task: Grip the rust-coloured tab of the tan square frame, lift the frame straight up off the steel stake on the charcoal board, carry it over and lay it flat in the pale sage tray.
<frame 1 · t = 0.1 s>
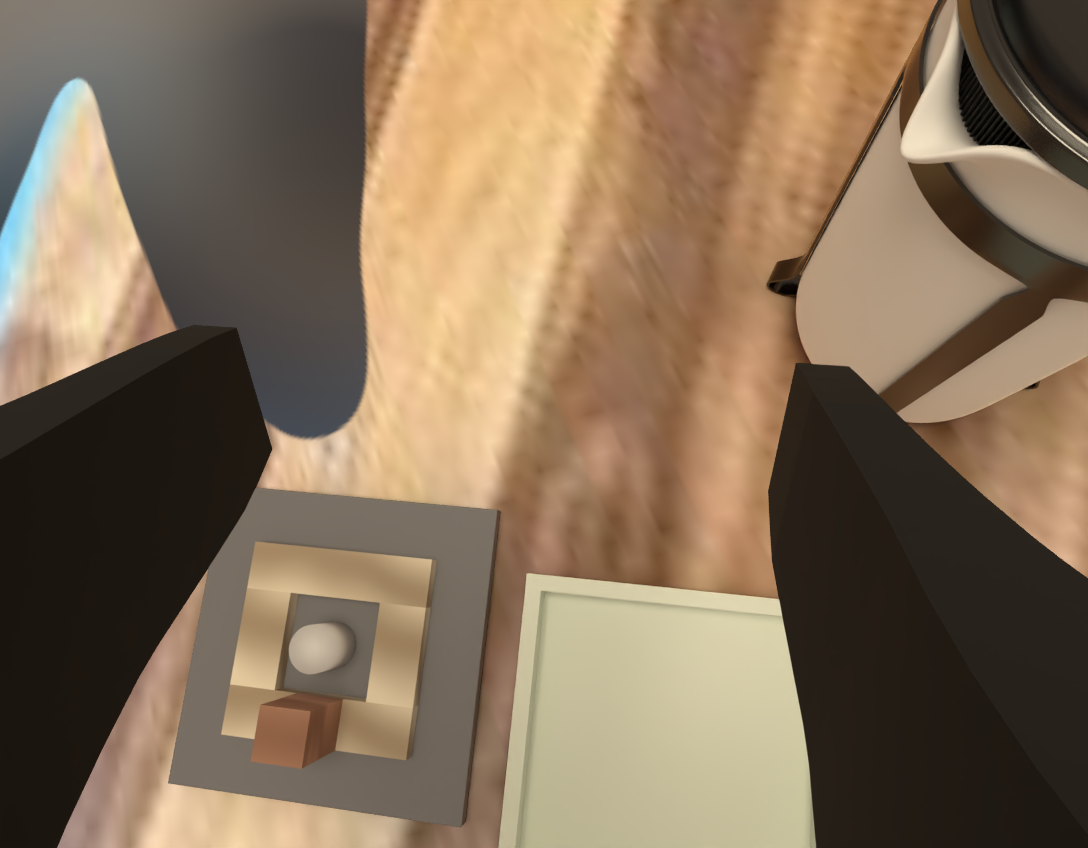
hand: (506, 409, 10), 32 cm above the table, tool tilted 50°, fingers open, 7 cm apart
coffee press: (914, 315, 42), on the table
tan square frame: (334, 644, 40), point 1 cm above the table, touching stake board
stake board: (341, 643, 41), on the table
sage tray: (667, 744, 38), on the table
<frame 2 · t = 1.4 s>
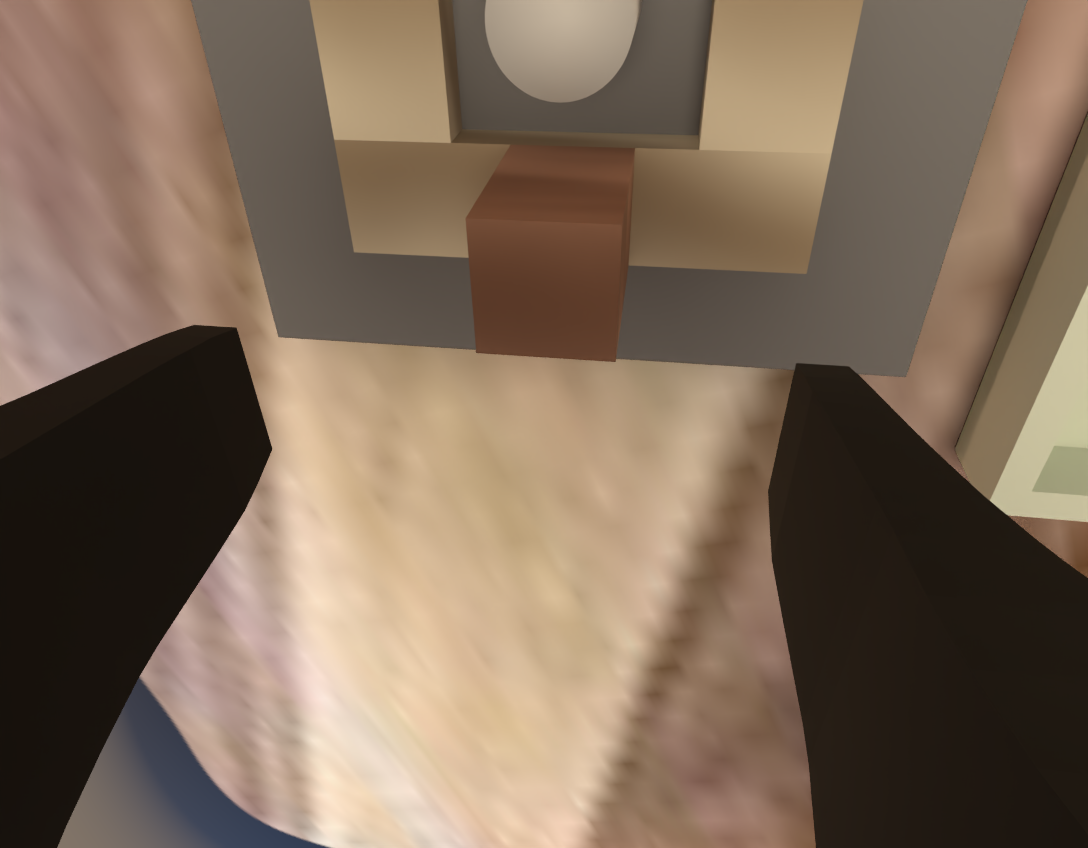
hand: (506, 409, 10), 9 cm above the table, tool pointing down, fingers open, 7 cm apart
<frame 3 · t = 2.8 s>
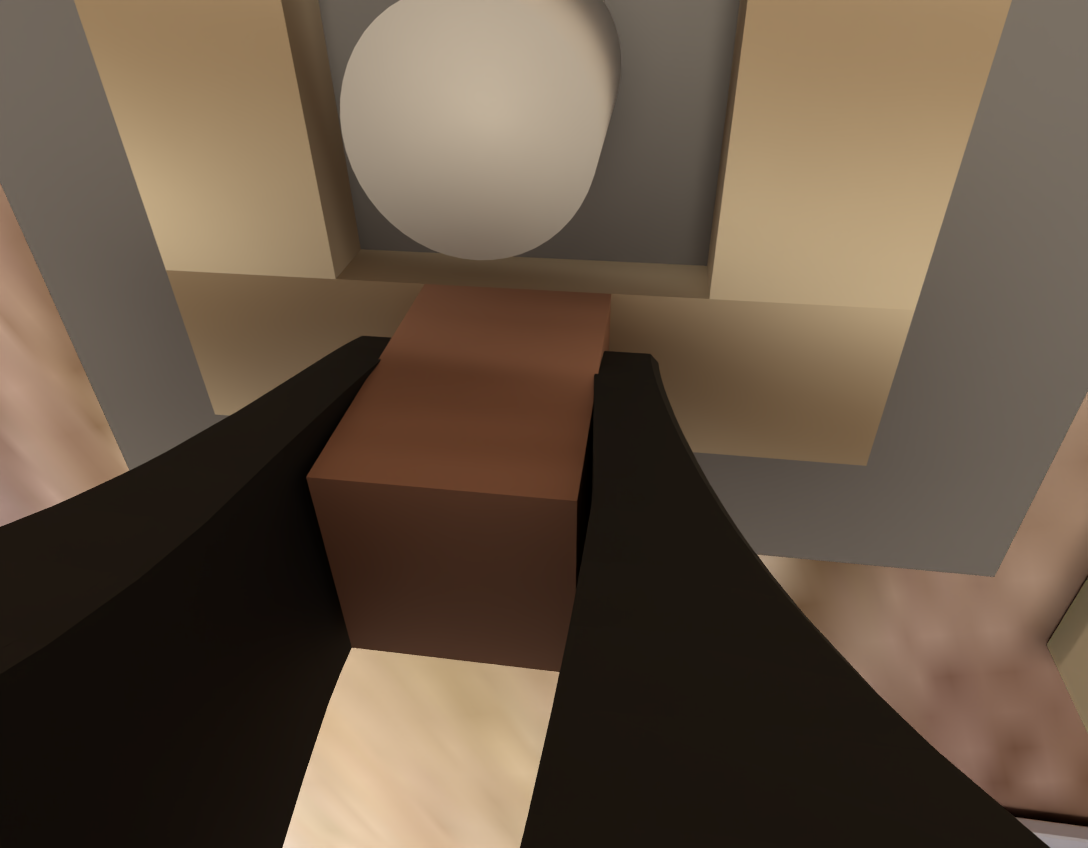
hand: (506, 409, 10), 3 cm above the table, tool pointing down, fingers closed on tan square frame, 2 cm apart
tan square frame: (523, 66, 9), point 1 cm above the table, touching gripper, stake board
stake board: (535, 50, 10), on the table
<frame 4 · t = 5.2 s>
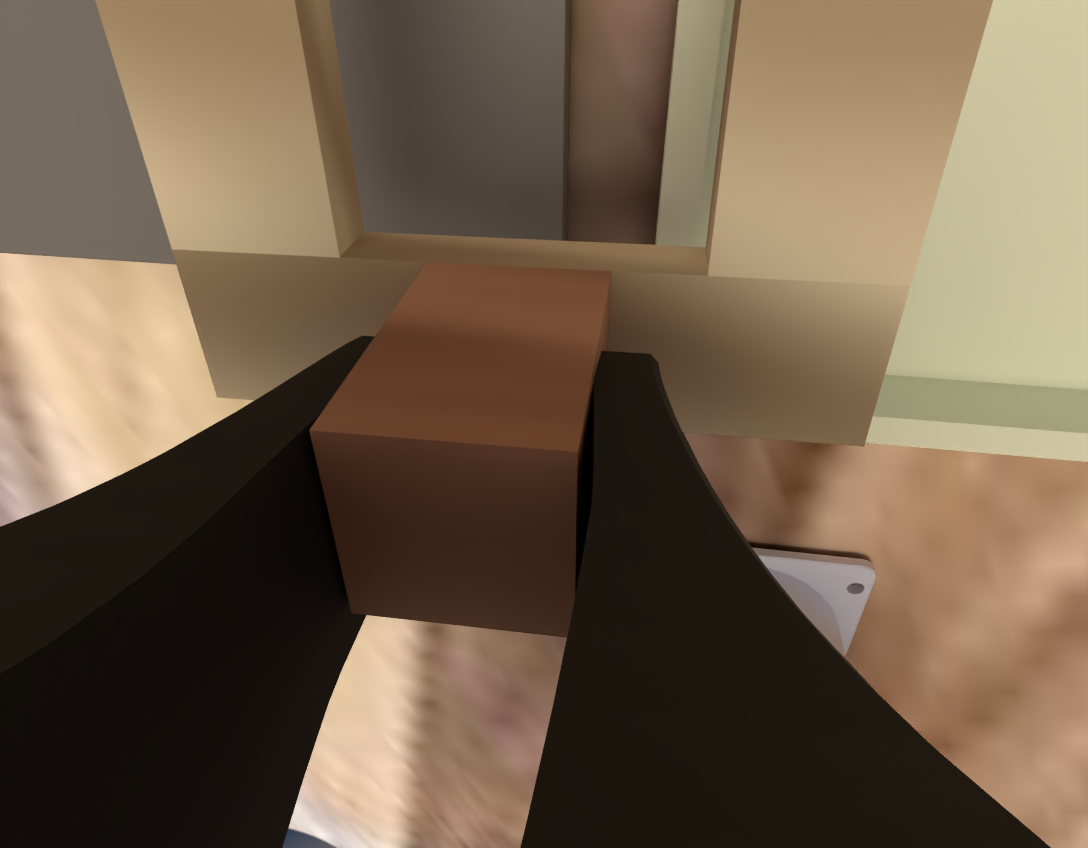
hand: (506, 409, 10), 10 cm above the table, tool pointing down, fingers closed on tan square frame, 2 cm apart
tan square frame: (525, 47, 9), point 8 cm above the table, touching gripper
sage tray: (1059, 76, 15), on the table
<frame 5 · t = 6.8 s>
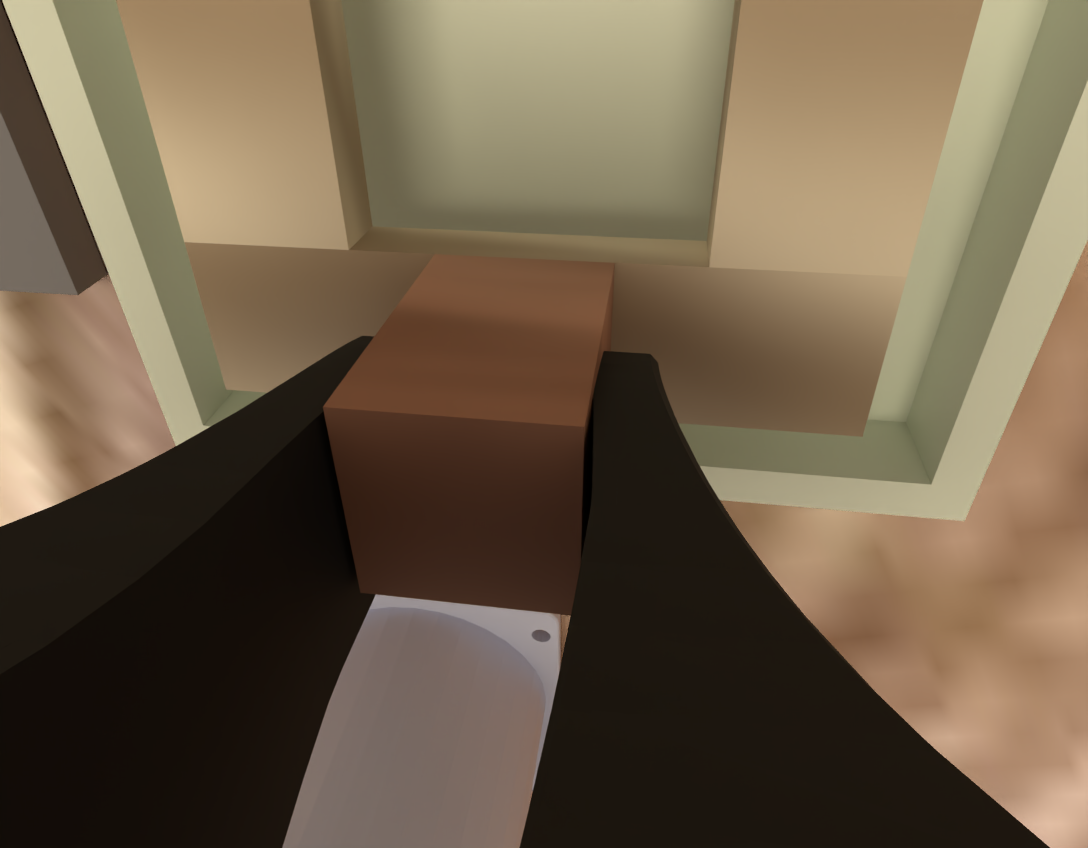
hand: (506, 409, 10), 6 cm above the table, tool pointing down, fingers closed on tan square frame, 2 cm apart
tan square frame: (532, 45, 10), point 3 cm above the table, touching gripper
sage tray: (561, 20, 12), on the table
when the fingers open (4 cm above the table, at t = 7.8 s): tan square frame stays where it is, resting on sage tray.
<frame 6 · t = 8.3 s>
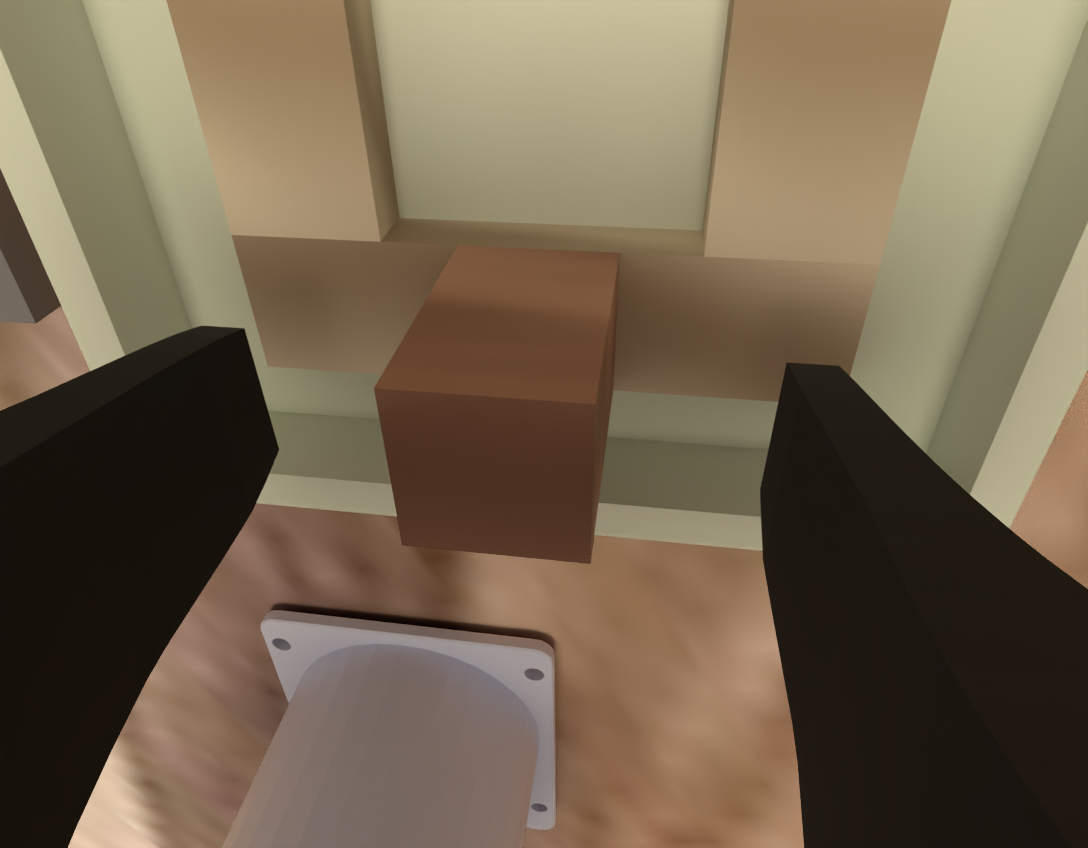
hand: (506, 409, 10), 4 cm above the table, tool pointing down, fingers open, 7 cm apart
tan square frame: (544, 56, 11), point 1 cm above the table, touching sage tray
sage tray: (550, 32, 11), on the table
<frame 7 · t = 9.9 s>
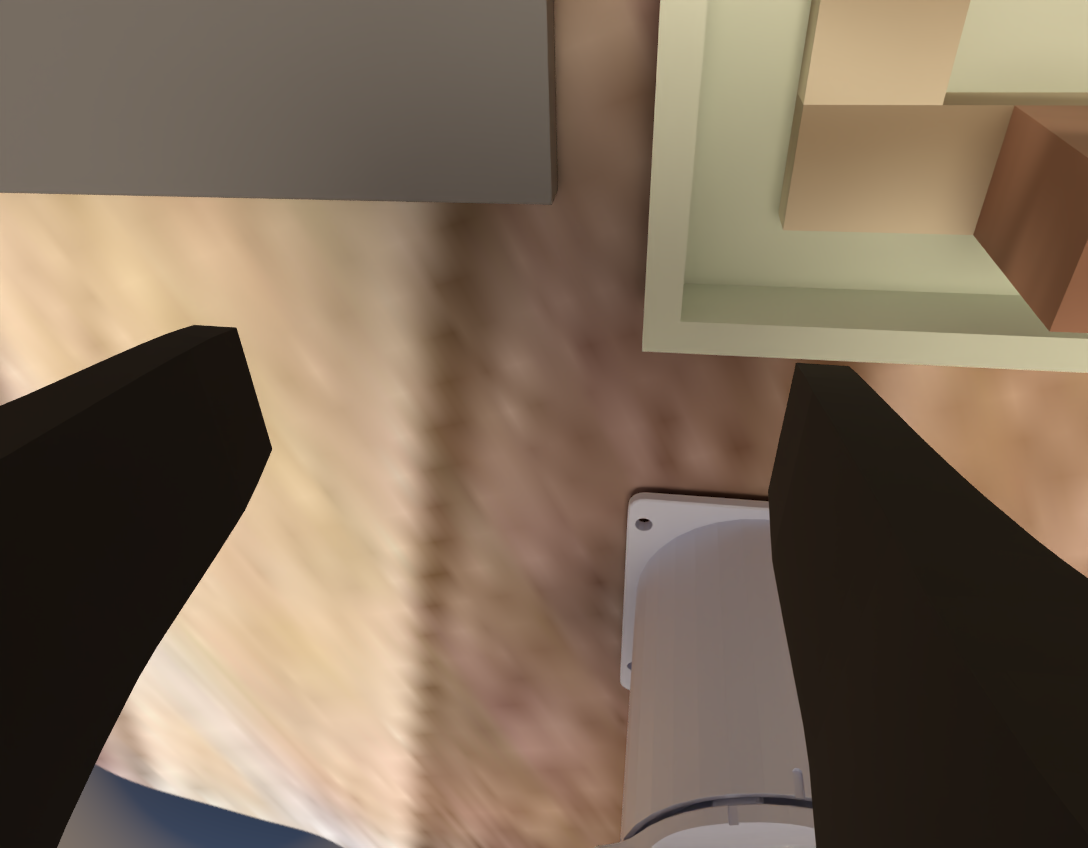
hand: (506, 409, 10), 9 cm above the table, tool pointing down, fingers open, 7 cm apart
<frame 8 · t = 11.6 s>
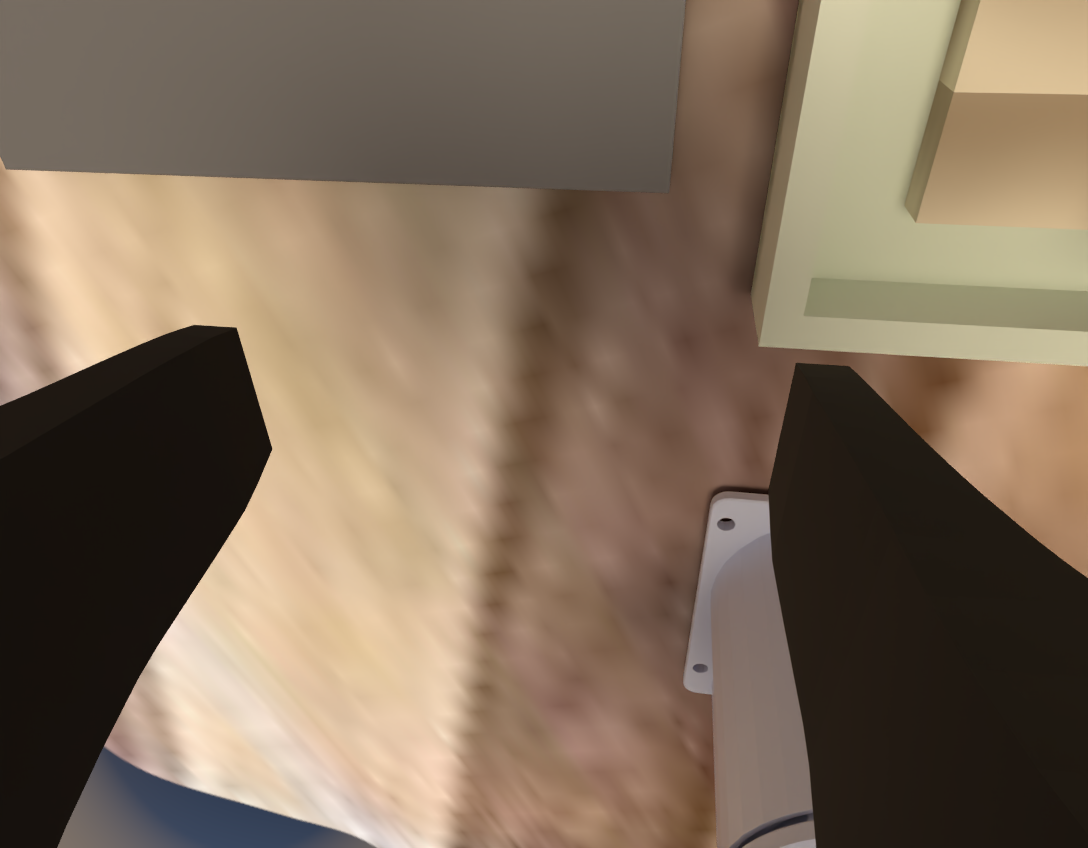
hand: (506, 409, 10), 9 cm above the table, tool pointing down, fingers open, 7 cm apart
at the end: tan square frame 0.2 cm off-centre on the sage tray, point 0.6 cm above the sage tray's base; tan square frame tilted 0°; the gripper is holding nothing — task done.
